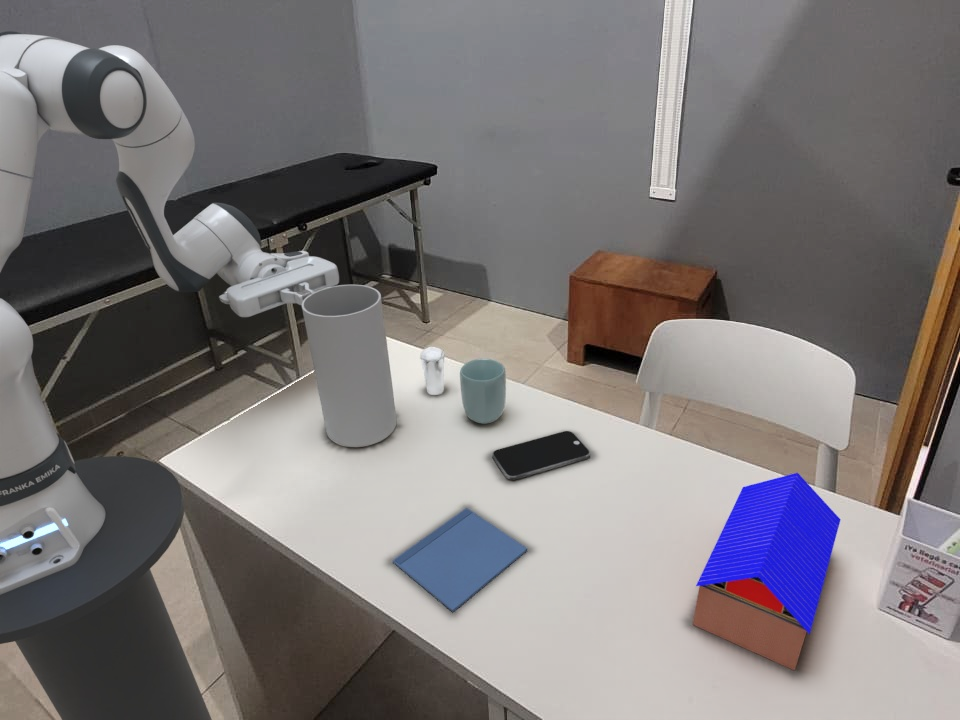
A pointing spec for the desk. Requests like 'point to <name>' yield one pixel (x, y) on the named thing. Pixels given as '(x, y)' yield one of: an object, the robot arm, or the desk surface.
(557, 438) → the smartphone
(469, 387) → the cup
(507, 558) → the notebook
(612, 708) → the desk surface
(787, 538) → the house
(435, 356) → the milkshake
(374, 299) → the cylinder vase
